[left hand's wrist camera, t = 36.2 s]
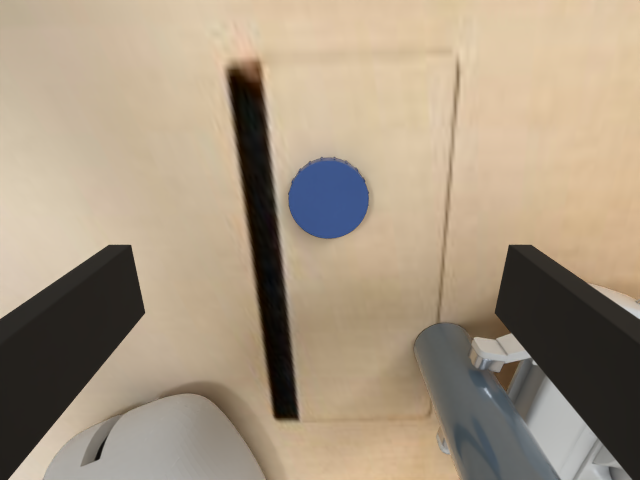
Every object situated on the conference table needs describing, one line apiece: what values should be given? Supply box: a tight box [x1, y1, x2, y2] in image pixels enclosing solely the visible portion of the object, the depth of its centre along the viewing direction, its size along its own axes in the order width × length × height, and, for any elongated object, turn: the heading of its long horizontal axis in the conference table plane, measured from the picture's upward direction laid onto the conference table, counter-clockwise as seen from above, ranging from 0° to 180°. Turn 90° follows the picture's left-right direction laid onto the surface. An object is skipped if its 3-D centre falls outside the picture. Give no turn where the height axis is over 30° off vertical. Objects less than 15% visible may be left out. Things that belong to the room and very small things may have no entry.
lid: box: [288, 157, 369, 238], centre depth 27 cm, size 6×6×2 cm
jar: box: [414, 323, 561, 480], centre depth 24 cm, size 5×5×16 cm
